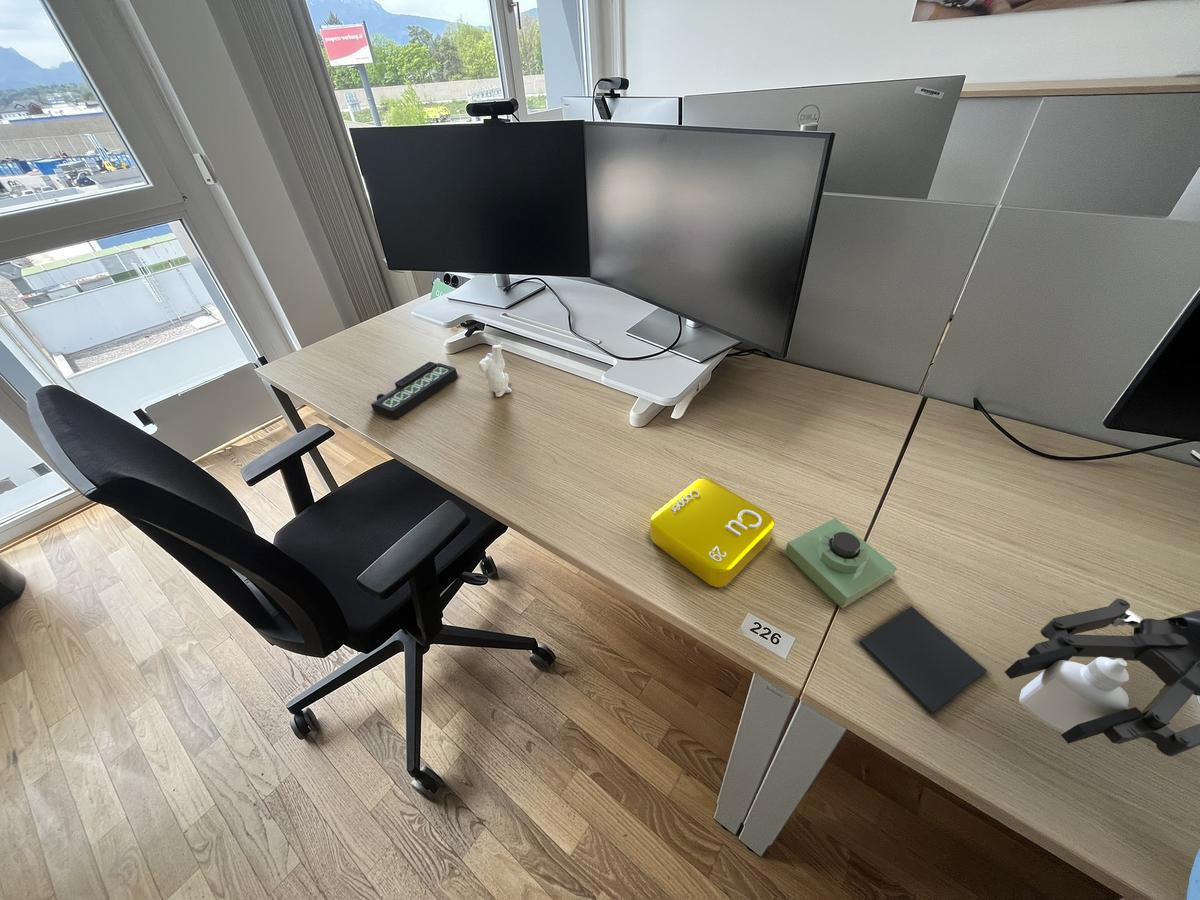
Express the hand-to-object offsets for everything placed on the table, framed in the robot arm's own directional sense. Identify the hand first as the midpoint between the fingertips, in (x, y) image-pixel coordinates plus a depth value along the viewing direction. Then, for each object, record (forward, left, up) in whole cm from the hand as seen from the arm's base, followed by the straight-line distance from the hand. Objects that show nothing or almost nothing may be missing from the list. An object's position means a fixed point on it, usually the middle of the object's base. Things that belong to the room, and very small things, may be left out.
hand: (1042, 700), depth 46 cm
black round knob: (+25, -3, -6) cm, 26 cm away
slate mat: (+10, -1, -10) cm, 14 cm away
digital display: (+113, +45, -10) cm, 122 cm away
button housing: (+25, -3, -10) cm, 27 cm away
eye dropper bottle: (-1, -5, -7) cm, 9 cm away
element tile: (+39, +10, -10) cm, 41 cm away
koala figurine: (+101, +26, -10) cm, 104 cm away
